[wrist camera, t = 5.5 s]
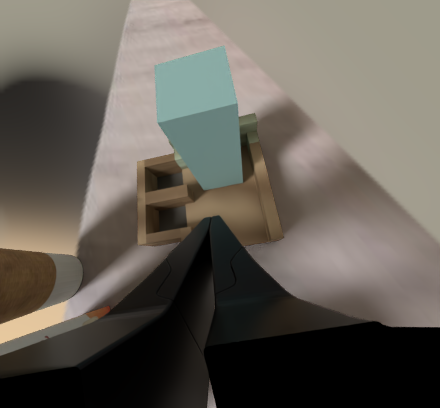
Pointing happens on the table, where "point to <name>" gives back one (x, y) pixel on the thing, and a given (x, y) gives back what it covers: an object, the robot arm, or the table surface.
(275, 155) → the table surface
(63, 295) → the coffee cup
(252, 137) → the trap channel
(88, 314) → the cracker box
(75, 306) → the table surface
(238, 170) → the block
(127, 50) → the table surface
